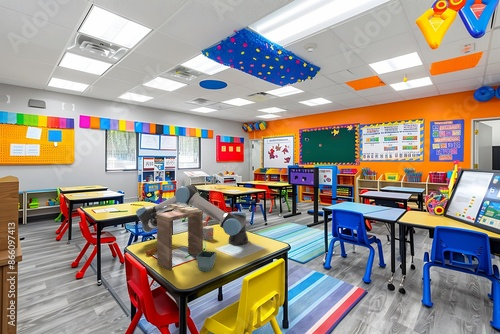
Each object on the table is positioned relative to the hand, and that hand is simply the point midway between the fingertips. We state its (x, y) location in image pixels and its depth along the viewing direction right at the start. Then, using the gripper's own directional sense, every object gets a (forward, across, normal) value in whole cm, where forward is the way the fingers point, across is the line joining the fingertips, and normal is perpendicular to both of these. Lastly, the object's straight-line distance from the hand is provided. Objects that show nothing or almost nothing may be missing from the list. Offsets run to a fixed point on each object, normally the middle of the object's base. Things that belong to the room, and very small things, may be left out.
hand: (168, 210), depth 163 cm
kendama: (-20, +4, -21) cm, 29 cm away
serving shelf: (+4, +5, -35) cm, 35 cm away
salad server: (+14, 0, -6) cm, 15 cm away
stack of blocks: (-20, -35, -21) cm, 45 cm away
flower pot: (+23, +2, -46) cm, 51 cm away
